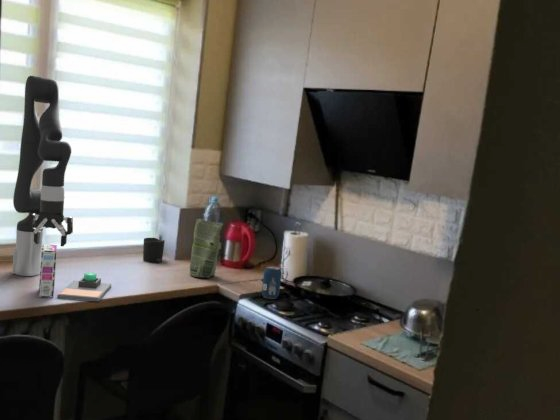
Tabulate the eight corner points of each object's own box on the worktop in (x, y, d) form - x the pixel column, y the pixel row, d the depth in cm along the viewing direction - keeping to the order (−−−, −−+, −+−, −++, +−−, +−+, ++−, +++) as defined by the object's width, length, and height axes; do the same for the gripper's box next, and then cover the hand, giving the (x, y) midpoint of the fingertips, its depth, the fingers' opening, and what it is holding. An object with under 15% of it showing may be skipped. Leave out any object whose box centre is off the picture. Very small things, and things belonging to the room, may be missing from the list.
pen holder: (143, 262, 258) (144, 241, 256) (141, 258, 266) (142, 237, 265) (164, 263, 261) (165, 242, 259) (161, 258, 270) (163, 238, 268)
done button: (82, 281, 208) (82, 275, 207) (85, 278, 212) (86, 272, 212) (94, 282, 208) (94, 276, 208) (97, 279, 212) (97, 273, 212)
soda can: (271, 293, 230) (274, 264, 229) (282, 298, 225) (285, 268, 223) (257, 295, 225) (261, 265, 224) (269, 300, 220) (272, 270, 219)
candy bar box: (54, 297, 195) (56, 251, 193) (38, 298, 193) (40, 250, 191) (54, 288, 205) (57, 244, 203) (39, 288, 203) (42, 243, 201)
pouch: (188, 272, 249) (193, 216, 246) (214, 273, 253) (220, 218, 250) (191, 279, 239) (196, 220, 236) (219, 280, 242) (224, 222, 239)
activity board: (57, 298, 195) (57, 289, 195) (73, 283, 214) (73, 275, 213) (98, 301, 196) (99, 292, 196) (111, 286, 215) (111, 278, 215)
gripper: (27, 198, 191) (24, 245, 193) (70, 201, 192) (67, 248, 194) (34, 195, 198) (32, 241, 200) (76, 199, 199) (74, 244, 201)
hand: (50, 244), depth 197 cm, fingers open, 8 cm apart
